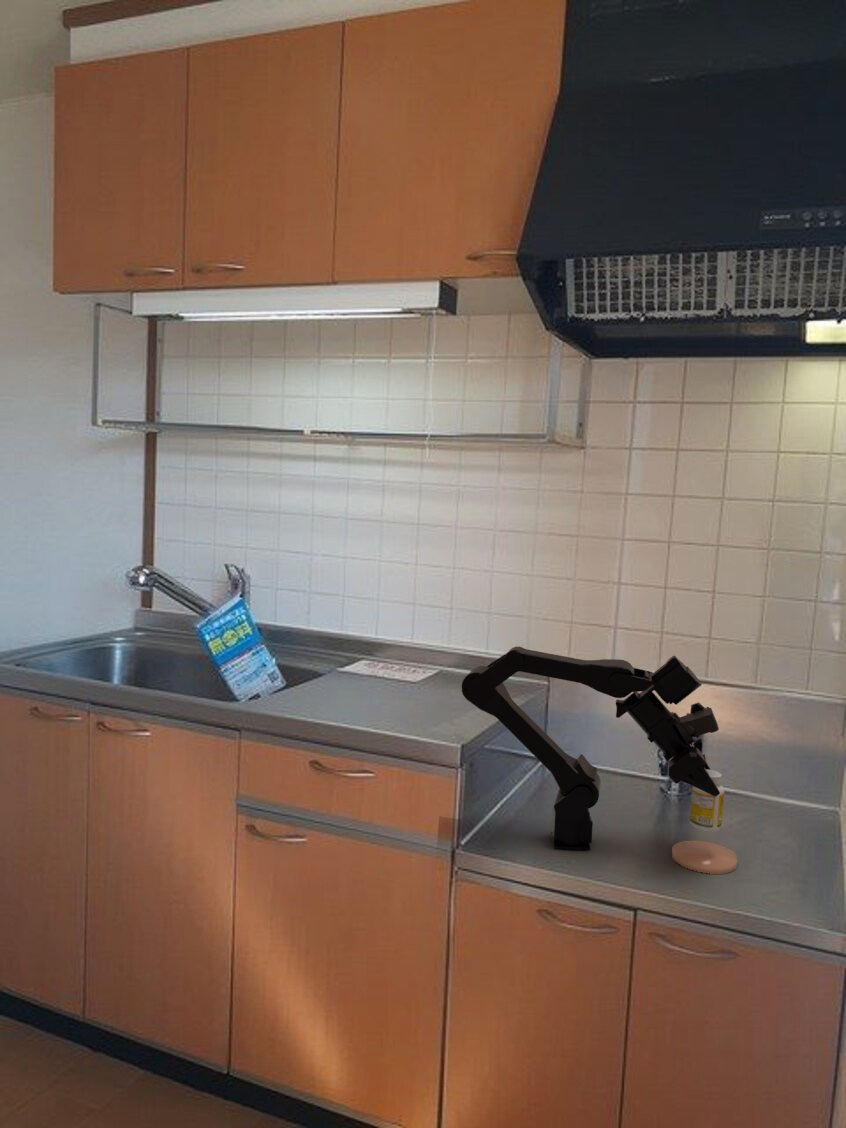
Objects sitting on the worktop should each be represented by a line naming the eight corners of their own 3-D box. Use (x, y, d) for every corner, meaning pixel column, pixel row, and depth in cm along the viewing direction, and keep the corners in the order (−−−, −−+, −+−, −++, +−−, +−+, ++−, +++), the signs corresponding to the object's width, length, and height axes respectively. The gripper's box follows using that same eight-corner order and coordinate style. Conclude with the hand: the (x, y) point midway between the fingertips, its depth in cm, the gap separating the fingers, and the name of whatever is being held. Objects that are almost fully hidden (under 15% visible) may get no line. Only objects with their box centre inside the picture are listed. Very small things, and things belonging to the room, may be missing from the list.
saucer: (679, 872, 150) (680, 865, 150) (665, 845, 161) (666, 839, 161) (745, 875, 150) (745, 869, 150) (726, 848, 161) (727, 842, 160)
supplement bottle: (701, 833, 151) (705, 779, 150) (683, 821, 156) (687, 768, 155) (727, 830, 153) (732, 777, 152) (709, 818, 158) (713, 767, 157)
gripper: (695, 705, 144) (760, 779, 143) (689, 680, 162) (747, 745, 161) (642, 746, 147) (706, 819, 145) (642, 717, 165) (699, 782, 163)
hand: (716, 789), depth 154 cm, fingers closed on supplement bottle, 5 cm apart
